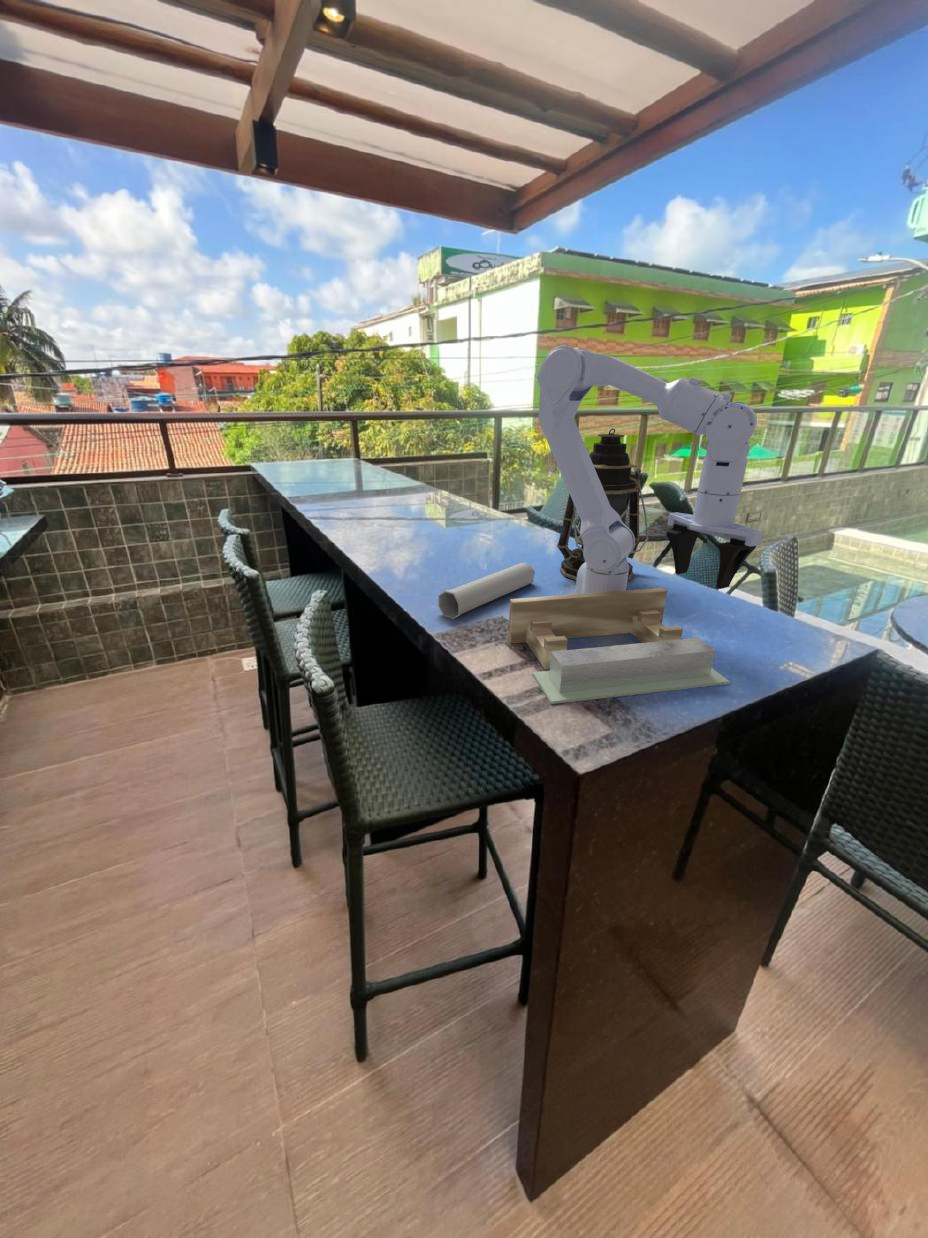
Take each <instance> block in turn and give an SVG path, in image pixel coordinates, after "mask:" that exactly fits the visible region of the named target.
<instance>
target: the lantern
mask: <svg viewBox="0 0 928 1238" xmlns="http://www.w3.org/2000/svg"><path fill="white" fill-rule="evenodd" d="M612 431H613V432H612ZM615 433H616V428H611V429H609V431H608V433H600V434H597V437H600V438H601V439H600V441H599V442H595V443H594V442H593V448H592V449H593V450H592V452H590V453H589V456H590V458H591V461H592V463H593V465H594V468H595V470H596V473H597V475H598V477H599V480H600V482H601V485H602V487H603V489H604V492H605V494H606V496H607V499H608V501H609V504H610V506H611V507H612V508H613V509H614V510H615V511H616V512H617V513H618V514H619V515H620V518H621V520H622V522H623V523H624V524H625V525H626V519H627V512H628V519H629V521H628V528H629V529H630V530H631V531H632V532H633V534H634V537H635V546H634V548H635V547H636V545H637V544H638V543H639V542H640V499H641V505H642V509H643V514H644V522H645V523H644V524H645V534H646V539H645V540H644V542H642V545H641V546H640V547H639V549H636V550H633V551H632V552H631V553H630V554H629V555H631V554H634V553H638V552H640V551H641V550H642V549H643V548H644V546H645V545H646V543H647V542H648V541H649V533H648V532H649V531H648V517H647V512H646V507H645V502H644V497H643V494H642V493H643V491H642V488H641V483H640V478H639V477H640V474H641V473H642V469H641V467H637V465H635V464H634V463H631V462H630V456H629V453H627V445H628V444H627V443H624V442H621V438H624V437H625V436H626V435H625V434H618V433H617V434H615ZM632 468H633V469H634V468H635V469H634V472H632ZM568 493H569V492H568ZM576 512H577V510H576V507H575V505H574V503H573V500H572V498H571V496H570V493H569V494H568V499H567V502H566V506H565V510H564V515H563V518H562V520H563V521H562V525H561V530H560V534H559V538H558V543H557V545H556V547H557V548H558V550H559V551H560V553H561V555H562V556H563V560H562V561H561V565H560V568H559V571H560V572H561V574H562V575H563V576H564V577H565V578H567V577H568V578H567V579H569V578H570V579H569V580H572V581H575V582H576V581H577V573H578V570H579V568H580V567H581V565H582V564H583V563H585V560H584V556H583V548H584V546H583V541H582V539H581V536H580V529H581V519H580V518H579V522H578V525H576ZM572 528H574V529H573V530H574V538H575V539H574V541H575V546H576V547H577V548H574V549H570V548H569V541H570V537H571V532H572ZM577 533H578V534H579V536H578V535H577ZM580 546H581V547H580ZM628 564H629V573H628V580H627V582H629V581H630V580H631V578H632V576H633V575H634V572H633V568H634V566H633V565H632V564H631V563H630V562H628Z"/></svg>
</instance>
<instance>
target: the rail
mask: <svg viewBox="0 0 928 1238" xmlns="http://www.w3.org/2000/svg"><path fill="white" fill-rule="evenodd" d="M716 652H717V651H716V649H714V647H712V646H710V645H709V644H707V643H706V642H704V641H703V640H701V638H699V637H692V638H683V639H682V638H681V639H679V640H669V641H659V642H648V643H642V642H638V643H629V644H618V645H610V646H608V645H607V646H598V647H588V648H587V647H586V648H579V649H576V648H575V649H567V650H565V651H554V652H551V660H550V669H549V671H550V672H549V678H550V680H551V681H552V682H553V684H554V685H555V687H556V688H557V690H558V691H559V693H563V692H572V691H581V690H590V689H599V688H608V687H617V686H626V685H635V684H644V683H653V682H662V681H671V680H680V679H689V678H698V677H707V676H710V674H711V670H712V668H713V665H714V660H715V657H716V656H715V655H716Z"/></svg>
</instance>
